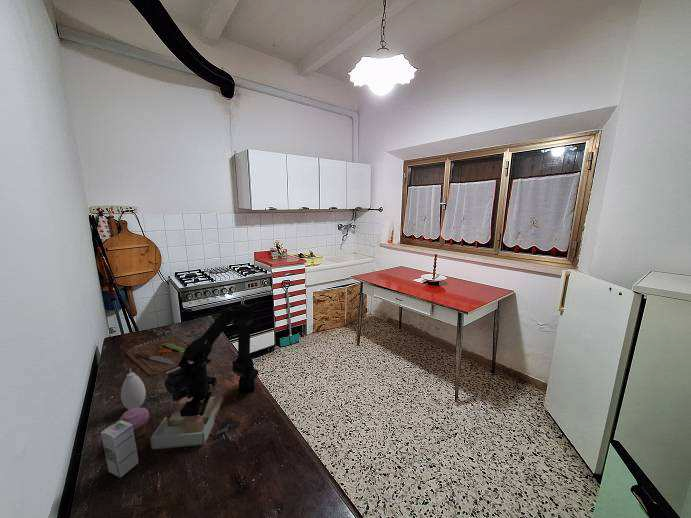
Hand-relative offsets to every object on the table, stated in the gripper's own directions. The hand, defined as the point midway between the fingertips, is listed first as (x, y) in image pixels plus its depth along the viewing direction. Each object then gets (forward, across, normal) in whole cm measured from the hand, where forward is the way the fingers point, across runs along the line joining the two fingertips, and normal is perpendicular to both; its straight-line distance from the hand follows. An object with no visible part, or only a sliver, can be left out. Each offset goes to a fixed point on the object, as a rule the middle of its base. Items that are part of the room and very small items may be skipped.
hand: (201, 415), depth 102 cm
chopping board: (+4, -57, -42) cm, 70 cm away
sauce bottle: (+4, -12, -30) cm, 33 cm away
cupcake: (+4, +3, -21) cm, 22 cm away
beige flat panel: (+3, -6, -4) cm, 8 cm away
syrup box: (+4, +16, -17) cm, 24 cm away
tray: (+3, +6, -4) cm, 8 cm away
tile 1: (+1, -7, -8) cm, 11 cm away
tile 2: (0, +3, -1) cm, 3 cm away
